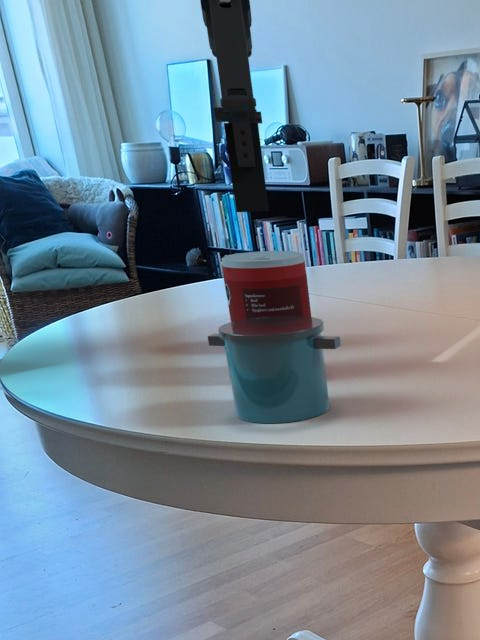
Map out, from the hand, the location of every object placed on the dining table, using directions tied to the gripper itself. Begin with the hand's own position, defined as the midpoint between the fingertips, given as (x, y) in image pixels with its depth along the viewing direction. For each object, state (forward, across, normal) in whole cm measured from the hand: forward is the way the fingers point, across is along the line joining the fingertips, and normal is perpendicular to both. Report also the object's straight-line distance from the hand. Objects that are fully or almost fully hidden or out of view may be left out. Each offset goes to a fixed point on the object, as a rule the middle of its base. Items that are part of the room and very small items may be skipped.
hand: (252, 206), depth 80 cm
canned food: (+15, 0, 0) cm, 15 cm away
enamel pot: (+15, -14, 0) cm, 21 cm away
